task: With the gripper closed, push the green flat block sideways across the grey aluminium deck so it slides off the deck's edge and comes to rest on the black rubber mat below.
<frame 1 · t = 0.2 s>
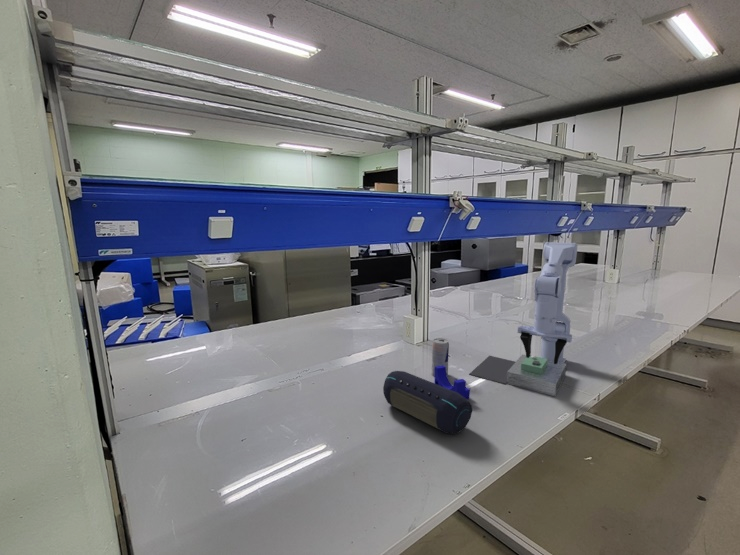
hand: (541, 359, 106), 10 cm above the table, fingers open, 7 cm apart
energy drink: (439, 375, 119), on the table
portable speaker: (423, 417, 94), on the table
mat: (496, 369, 123), on the table
deck: (536, 379, 115), on the table
green flat block: (534, 366, 115), point 4 cm above the table, touching deck
cable clip: (451, 392, 108), on the table
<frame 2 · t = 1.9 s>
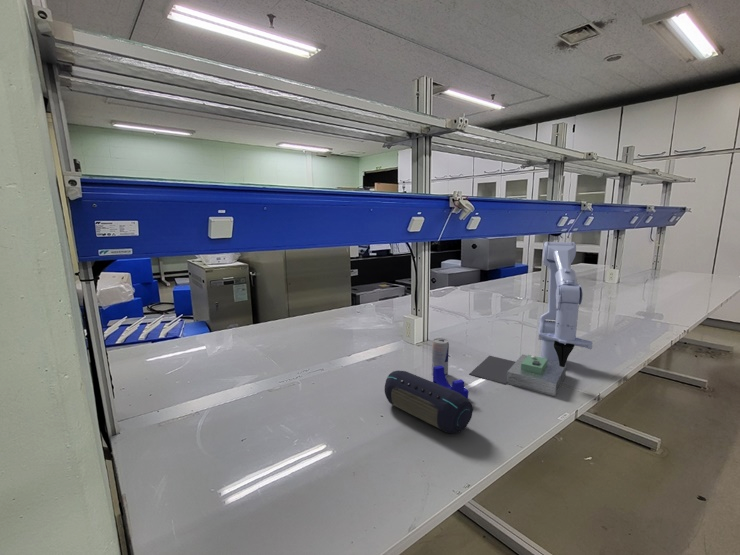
hand: (562, 365, 110), 7 cm above the table, fingers closed
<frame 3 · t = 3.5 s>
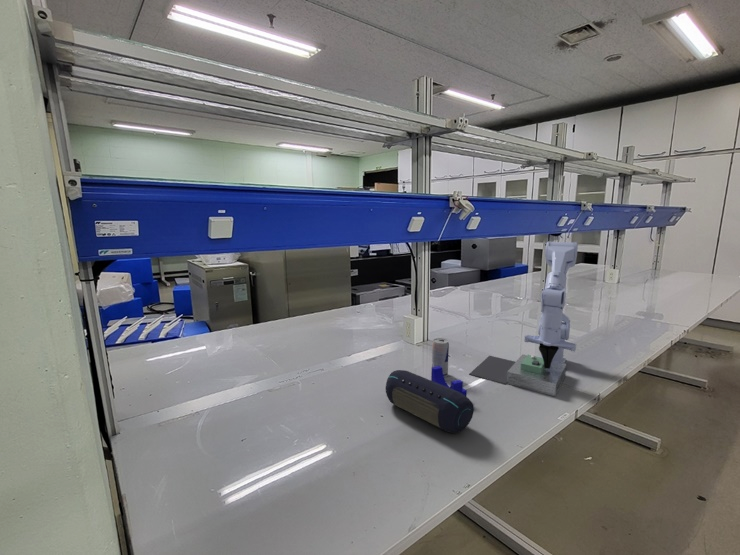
hand: (547, 367, 112), 5 cm above the table, fingers closed
green flat block: (533, 366, 115), point 4 cm above the table, touching gripper
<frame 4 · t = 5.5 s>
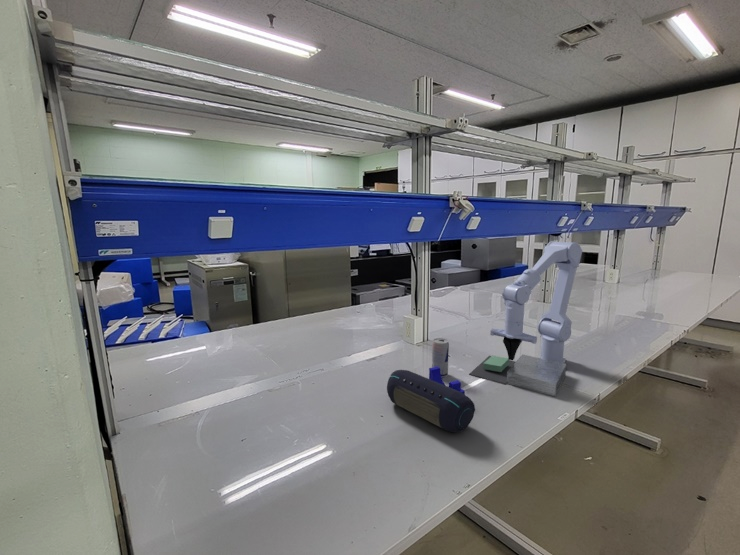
hand: (511, 359, 119), 5 cm above the table, fingers closed
green flat block: (496, 360, 122), point 3 cm above the table, tilted 176°, touching mat
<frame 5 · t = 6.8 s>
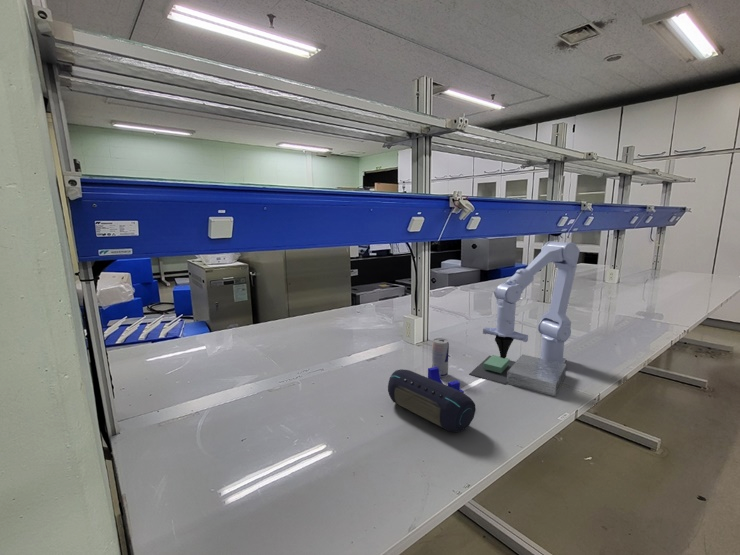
hand: (503, 357, 121), 5 cm above the table, fingers closed
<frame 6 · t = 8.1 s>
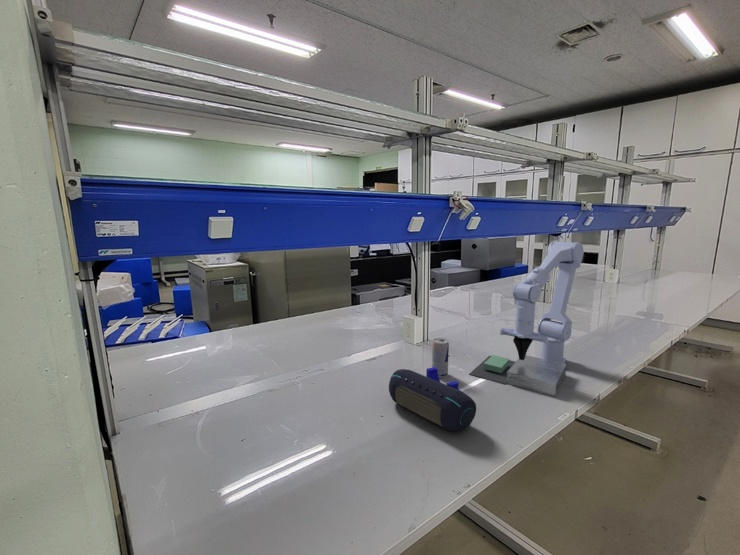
hand: (521, 358, 117), 6 cm above the table, fingers closed
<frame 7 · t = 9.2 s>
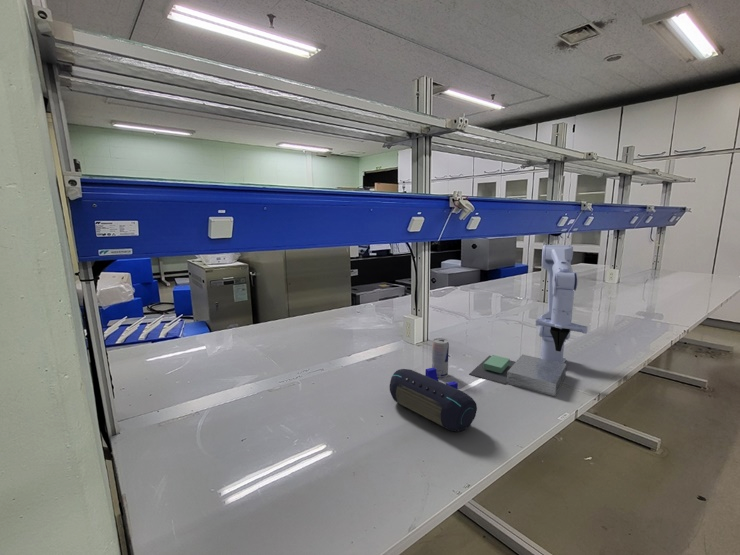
hand: (558, 350, 113), 10 cm above the table, fingers closed
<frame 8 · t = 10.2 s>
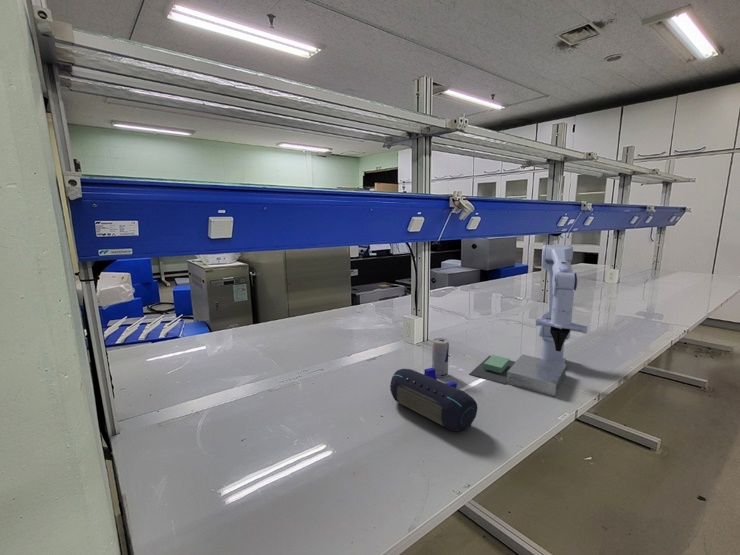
hand: (558, 350, 113), 10 cm above the table, fingers closed
at the end: green flat block touching mat; green flat block inside the target area (0.4 cm from its centre), point 3.0 cm above the table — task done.
